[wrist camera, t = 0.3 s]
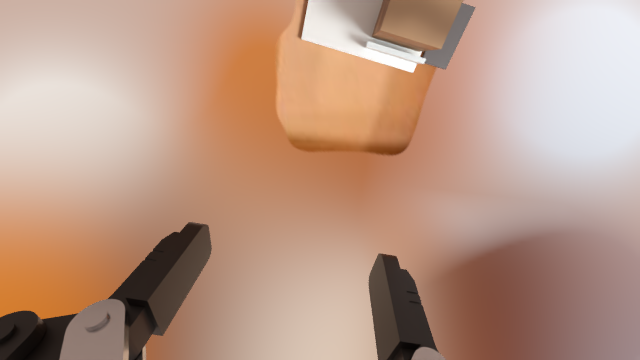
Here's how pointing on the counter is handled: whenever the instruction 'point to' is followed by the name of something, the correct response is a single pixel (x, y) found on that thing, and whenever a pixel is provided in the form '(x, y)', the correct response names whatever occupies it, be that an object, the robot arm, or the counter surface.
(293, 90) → the counter surface
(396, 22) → the walnut block
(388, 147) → the counter surface
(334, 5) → the white tray
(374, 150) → the counter surface
